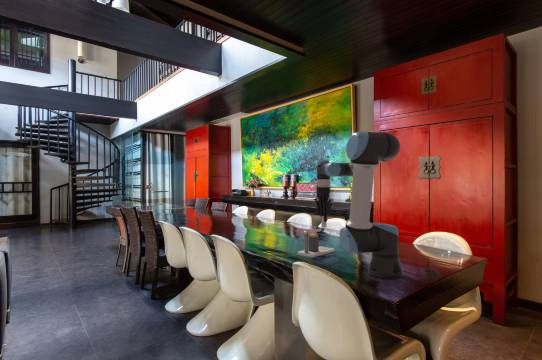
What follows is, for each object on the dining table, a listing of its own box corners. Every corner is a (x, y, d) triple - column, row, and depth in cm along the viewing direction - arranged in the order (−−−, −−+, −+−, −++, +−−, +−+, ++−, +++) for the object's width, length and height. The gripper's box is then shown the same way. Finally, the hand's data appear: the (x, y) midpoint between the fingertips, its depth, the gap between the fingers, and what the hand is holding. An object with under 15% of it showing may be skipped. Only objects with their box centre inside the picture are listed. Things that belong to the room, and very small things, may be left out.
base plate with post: (312, 259, 164) (311, 235, 164) (297, 255, 172) (297, 233, 172) (335, 253, 178) (334, 230, 178) (320, 250, 186) (320, 229, 186)
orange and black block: (314, 254, 171) (313, 235, 171) (308, 253, 174) (308, 234, 174) (318, 253, 173) (318, 234, 173) (313, 252, 176) (313, 233, 176)
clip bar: (306, 234, 167) (306, 231, 167) (302, 233, 169) (302, 231, 169) (325, 231, 178) (325, 228, 178) (320, 230, 181) (320, 227, 181)
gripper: (336, 186, 170) (337, 227, 170) (319, 186, 180) (320, 225, 180) (327, 187, 165) (328, 229, 165) (311, 186, 176) (311, 226, 176)
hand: (324, 227), depth 173 cm, fingers closed
